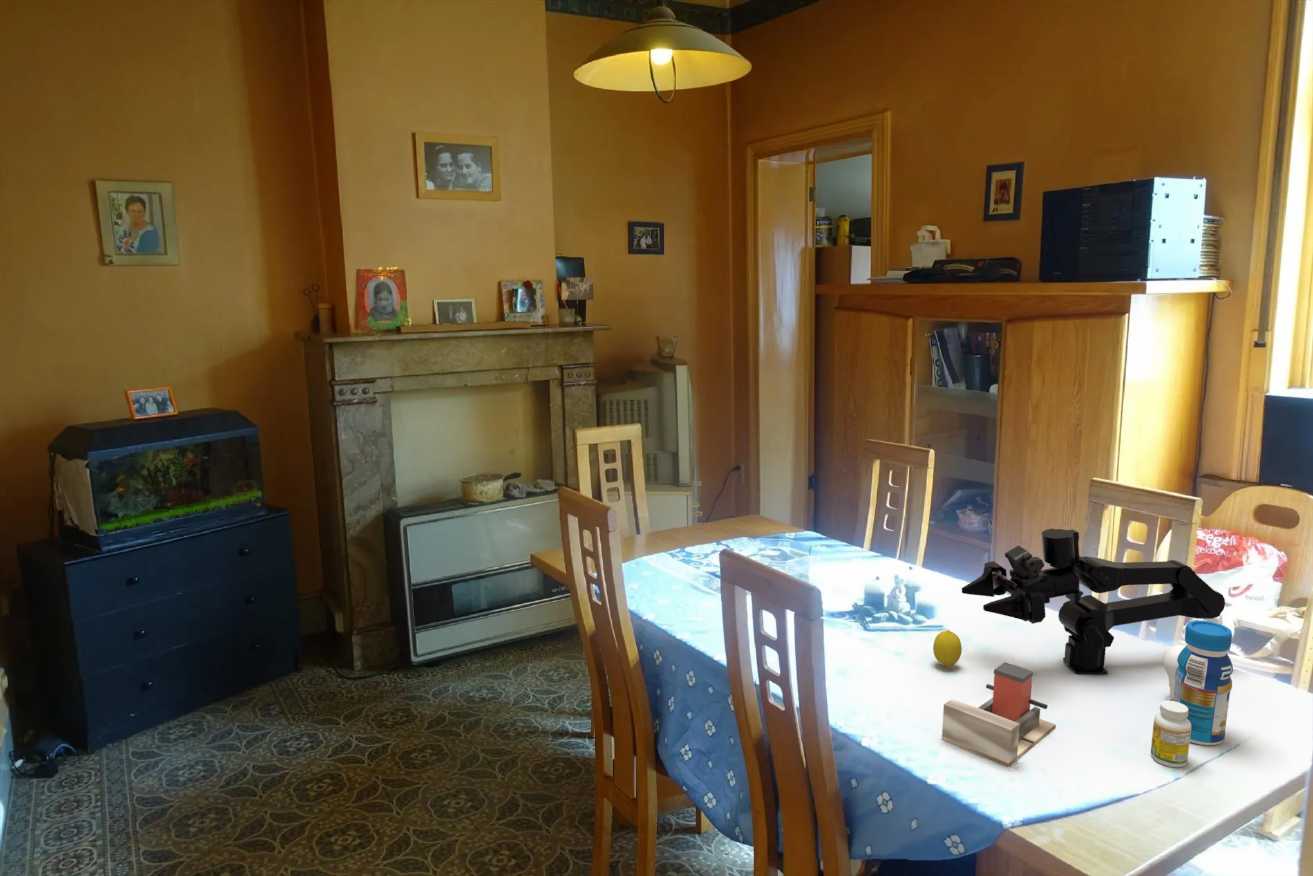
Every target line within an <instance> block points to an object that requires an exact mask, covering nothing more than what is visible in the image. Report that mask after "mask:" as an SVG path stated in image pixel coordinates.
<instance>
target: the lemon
mask: <svg viewBox="0 0 1313 876" xmlns="http://www.w3.org/2000/svg"><path fill="white" fill-rule="evenodd" d="M962 648H963V647H962V642H961V639H960V637H959V636H958V635H957V634H956V633H955V632H953V631H951V630H950V629H946V630H943V631H941V632H939V633H937V635H936V636H935V639H934V641H933V646H932V651H933V652H932V653H933V655H934V658H935V660H936V661H937V662H938V663H940V664H942V665H943V666H944V667H945V668H948V667H949V666H953V665H955V664H956V663H958V662H959V661H960V659H961V656H962V653H963V652H962V651H963V649H962Z"/></svg>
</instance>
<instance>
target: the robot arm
mask: <svg viewBox="0 0 1313 876" xmlns="http://www.w3.org/2000/svg"><path fill="white" fill-rule="evenodd" d="M1041 541H1042V544H1041V545H1042V558H1043V559H1041V558H1040V557H1038V556H1033V555H1032V553H1030V552H1029V550H1026V549H1025V548H1023V547H1022V546H1020V545H1017V546H1015V547H1013V548H1012V549H1010V550H1008V551H1006V552H1005V553H1004V557H1005V558H1006V559H1007V560H1008V563H1009V564H1010V566H1011V569H1009V576H1010V578H1008V577H1007V569H1006V568H1004V566H1002V565H1000V564H999V563H997V562H996V561H994V560H993V561H987V562H985V563H984V565H983V566H984V567H983V572H982V574H981V575H980V576H979V577H978V578H976V579H975V580H973V581H971V582H969V583H967V584H966V585H964V586H963V587H961V593H962V594H966V595H972V596H983V597H990V598H991V597H992V598H993V597H994V598H995V596H1004V595H1005V594H1006V593H1008V594H1010V595H1009V596H1006V597H1003V598H999V599H998V600H997V599H996V600H993V601H991V602H988V603H985V604H983V605H982V608H983V611H984V612H988V613H993V614H995V615H996V614H997V615H1002V616H1005V617H1009V618H1014V619H1018V620H1021V621H1024V622H1029V623H1030V624H1032V625H1033V624H1037V623H1038V624H1039V623H1042V622H1043V621H1044V619H1045V618H1046V615H1047V614H1046V606H1045V605H1046V604H1050V601H1051V599H1053V598H1059V597H1063V596H1065V598H1066V599H1068V600H1067V601H1065V602H1063V604H1062V606H1060V608H1059V611H1058V621H1059V622H1060V623H1061V625H1063V628H1064V631H1065V632H1066V633H1068V634H1069V635H1068V639H1067V640H1068V641H1067V642H1066V643H1065V644H1064V645H1065V647H1064V648H1065V649H1064V657H1063V658H1062V661H1063V662H1064V663H1065V664H1066V666H1068V667H1069V669H1070V670H1072V671H1073V672H1074V673H1075V674H1078V675H1079V674H1080V675H1081V674H1082V675H1083V674H1085V675H1086V674H1087V675H1088V674H1089V675H1090V674H1091V675H1093V674H1094V675H1095V674H1096V675H1106V674H1107V675H1108V670H1107V668H1105V660H1106V651H1107V650H1106V649H1107V648H1109V647H1111V646H1112V644H1113V642H1114V640H1115V636H1114V635H1113V634H1112V633H1111V632H1109V631H1110V630H1111V629H1113V627H1116V626H1124V625H1128V624H1129V625H1130V624H1135V623H1141V622H1148V621H1153V620H1158V619H1166V618H1170V617H1171V618H1172V617H1178V616H1179V617H1187V618H1192V619H1197V620H1204V619H1205V620H1206V619H1208V620H1212V619H1213V620H1214V619H1217V618H1218V617H1220V616H1221V614H1222V612H1223V611H1224V609H1225V607H1226V600H1225V597H1224V595H1223V594H1222V593H1221V592H1219V591H1217V590H1215V589H1214V588H1212V587H1211V586H1210V585H1209V584H1208V583H1207V582H1205V581H1204V580H1203V579H1202V578H1201V577H1200V576H1198V574H1197V573H1196V572H1195V571H1194V569H1192V567H1191V566H1189V565H1187V564H1185V563H1183V562H1180V561H1178V560H1176V559H1175V560H1174V559H1172V560H1171V559H1170V560H1167V561H1137V562H1136V561H1135V562H1134V561H1133V562H1132V561H1131V562H1129V561H1128V562H1119V561H1118V562H1117V561H1111V560H1107V559H1104V558H1100V557H1094V556H1081V555H1080V546H1079V541H1080V533H1079V532H1078V531H1077V530H1074V529H1061V528H1055V529H1054V528H1048V529H1045V530H1043V531H1042V532H1041ZM1044 562H1045V563H1047V564H1048V565H1049V566H1050V568H1046V569H1043V568H1044V566H1045V563H1044ZM1080 585H1082V586H1083V587H1085V588H1086V589H1087V590H1090V591H1091V592H1093V593H1095V594H1104V593H1108V592H1114V591H1117V590H1118V589H1120V588H1121V587H1125V586H1137V585H1139V586H1143V585H1170V587H1171V590H1169V591H1168V592H1165V593H1160V594H1159V593H1158V594H1152V595H1147V596H1140V597H1134V598H1128V599H1123V600H1116V601H1110V602H1103V601H1101V600H1100V599H1098V598H1097V597H1095V596H1094V595H1092V594H1089V595H1088V594H1087V595H1084V592H1083V591H1081V589H1080ZM1083 595H1084V596H1083Z"/></svg>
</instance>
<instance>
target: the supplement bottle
mask: <svg viewBox="0 0 1313 876" xmlns="http://www.w3.org/2000/svg"><path fill="white" fill-rule="evenodd" d="M1187 717H1188V708H1187V707H1186V706H1185V705H1183V704H1181V703H1179V702H1175V701H1173V700H1163V701H1160V704H1159V712H1158V713H1156V714H1155V715H1154V718H1153V726H1152V727H1153V728H1152V737H1151V746H1150V757H1152V758H1153V760H1154V761H1156V763H1158V764H1161V765H1162V766H1163V765H1164V766H1165V767H1171V768H1182V767H1184V766H1186V765H1187V764H1188V758H1189V750H1190V743H1191V742H1190V734H1191V723H1190V721H1189V720H1188V719H1187Z"/></svg>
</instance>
